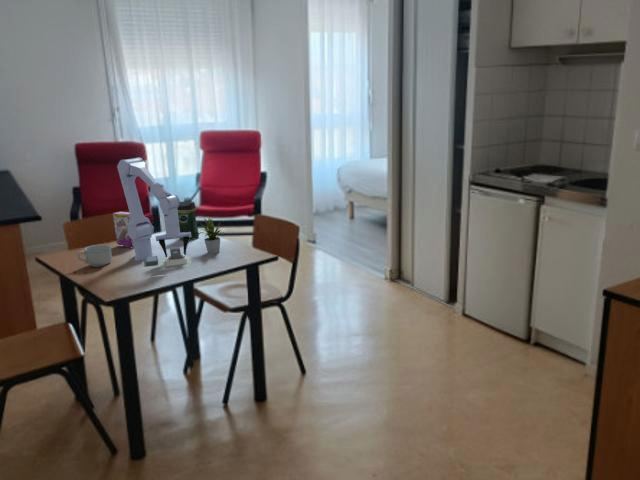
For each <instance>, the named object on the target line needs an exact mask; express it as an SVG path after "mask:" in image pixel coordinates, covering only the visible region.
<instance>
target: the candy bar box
mask: <svg viewBox="0 0 640 480" xmlns="http://www.w3.org/2000/svg"><path fill="white" fill-rule="evenodd" d="M112 219H113V224H114V225H113V226H114V231H115V239H116V245H117V244H118V245H123V246H127V247H126V248H128V247H132V248H131V249H134V248H133V247H134V241H133V240H132V239H131V238H130V237H129V235H128V225H127V224H128V223H129V221H130V220H131V216H130V212H129V211H127V212H126V211H117V212H113V213H112Z"/></svg>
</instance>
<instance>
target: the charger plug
mask: <svg viewBox="0 0 640 480" xmlns="http://www.w3.org/2000/svg"><path fill="white" fill-rule="evenodd" d="M169 253H170V256H171V260H173V259H181V254H182V253H181V247H180V246H171V247H169Z"/></svg>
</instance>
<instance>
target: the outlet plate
mask: <svg viewBox="0 0 640 480" xmlns="http://www.w3.org/2000/svg"><path fill="white" fill-rule="evenodd" d="M164 257H165V256H164ZM192 263H193V262H192V260H191V257H190V255H187V254H186V255H184V253H181V259H173V260H171V255H167V257H165V258H160V259H158V265H151V266H146V262H145V260H141V267H142V268H141V269H142V270H151V269H157V268H165V267H172V266H173V267H174V266H182V265H188V264H192Z"/></svg>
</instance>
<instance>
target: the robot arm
mask: <svg viewBox="0 0 640 480" xmlns="http://www.w3.org/2000/svg"><path fill="white" fill-rule="evenodd" d="M116 168H117V172H118V174H119V175H118V176H119V179H120V183H121V186H122V189H123V193H124V196H125V199H126V200H125V201H126V203H127V207H128V210H129V211H128V213H130V216H131V220H130V221H129V223H128V224H127V225H128V235H129V237H130V238H131V239H132V240H133V241H134V248H133V249H134V261H145V257H151V256H154V253H153V249H152V240H151V239H152V235H154V226H153V224H152V223H151V221H150V219H149V218H148V217H146V216H145V215H144V211H143V208H142V204H141V200H140V197H139V193H138V189H137V185H136V179H137V177H139V178H140V179H141V180H143V182H144V183H145V184H146V185H147V186H148V187H149V188H150V189H149V190H150V192H151V194H152V195H153V197H154V198H156V200H157V201H158V202H159V203H158V204H159V208H160V209H161V212H162V214H163V219H164V220H163V221H164V228H165V234H161V235H154V237H155V242H158V243H159V246H160V247H161V248H162V251H163V253H164V257H167V256H168V252H167V246H166V241H167V240H168V241H169V240H176V239H179V238H183V239H182V245H183V254H184V255H186V256H187V249H188V244H189V241H190V240H189V237H191V232H182V233H180V227H179V218H178V210H177V208H178V207H179V205H180V202H181V200H180V198H179V197H178V195H176V194H174V193H171V192H170V191H169V190H168V189H167V188H166V186H165V185H164V184H163V183H162V182H157V180H156V179H155V178H154V177H153V175H152V174H151V172H150V171H149V169H148V168H147V163H146V162H145V161H144V160H143V158H141V157H138V156H137V157H133V158H128V159H120V160H119V162H118V163H117V166H116Z"/></svg>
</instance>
